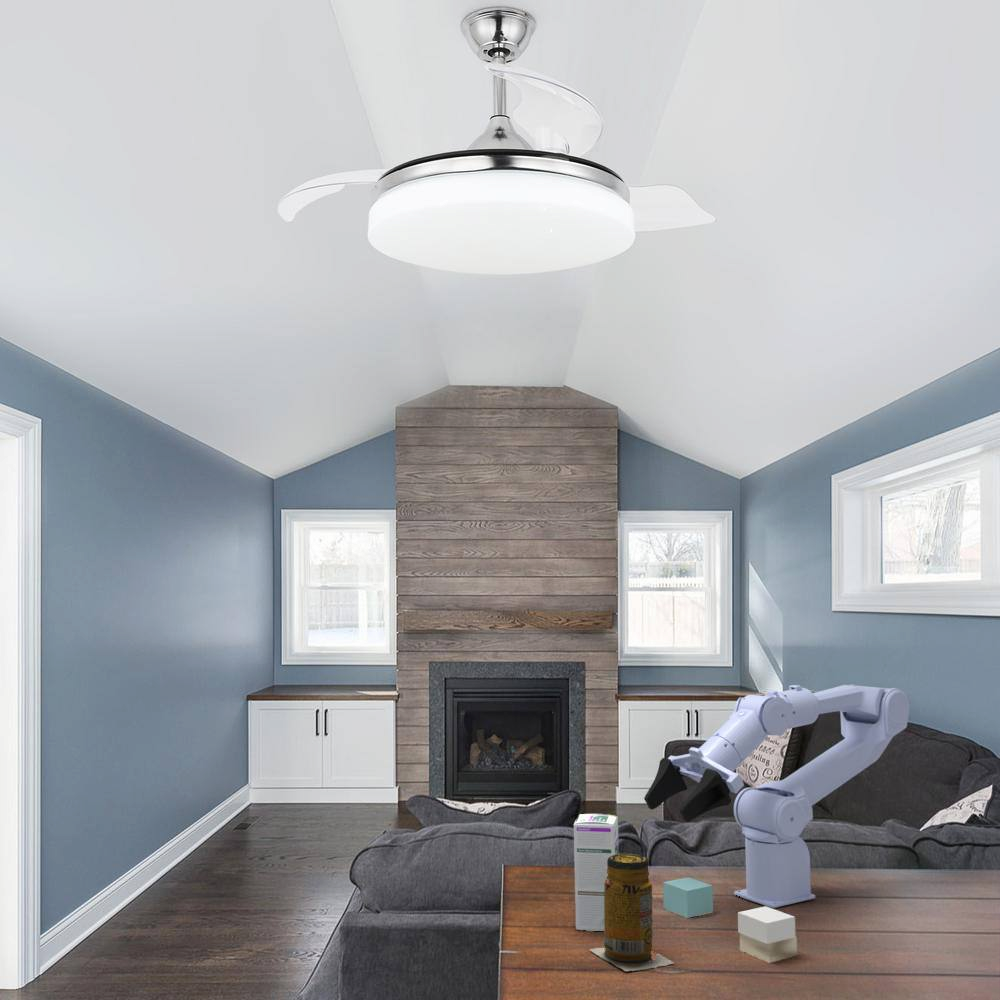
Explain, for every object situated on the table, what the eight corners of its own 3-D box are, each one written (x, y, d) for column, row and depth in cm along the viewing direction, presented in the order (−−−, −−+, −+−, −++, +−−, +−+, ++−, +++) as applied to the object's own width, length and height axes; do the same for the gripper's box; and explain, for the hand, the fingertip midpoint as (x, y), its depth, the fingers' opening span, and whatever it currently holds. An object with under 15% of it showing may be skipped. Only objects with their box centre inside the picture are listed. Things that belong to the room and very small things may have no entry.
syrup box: (617, 933, 132) (616, 823, 134) (573, 930, 133) (573, 821, 135) (620, 920, 138) (619, 814, 139) (578, 917, 139) (578, 812, 140)
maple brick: (767, 945, 128) (766, 925, 129) (797, 957, 124) (796, 936, 124) (739, 952, 126) (739, 932, 126) (769, 964, 122) (768, 944, 122)
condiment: (636, 943, 129) (635, 849, 130) (675, 964, 121) (673, 864, 122) (588, 951, 125) (588, 855, 127) (625, 974, 118) (624, 871, 119)
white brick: (766, 925, 129) (765, 906, 129) (795, 937, 124) (794, 916, 125) (738, 932, 126) (737, 912, 126) (767, 944, 122) (766, 923, 122)
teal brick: (688, 905, 145) (688, 877, 146) (713, 914, 141) (712, 885, 141) (663, 910, 142) (663, 882, 143) (687, 920, 138) (686, 890, 139)
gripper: (681, 721, 151) (622, 777, 145) (749, 737, 139) (688, 798, 133) (699, 758, 153) (641, 814, 147) (769, 777, 141) (709, 839, 134)
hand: (665, 809), depth 140 cm, fingers open, 7 cm apart
